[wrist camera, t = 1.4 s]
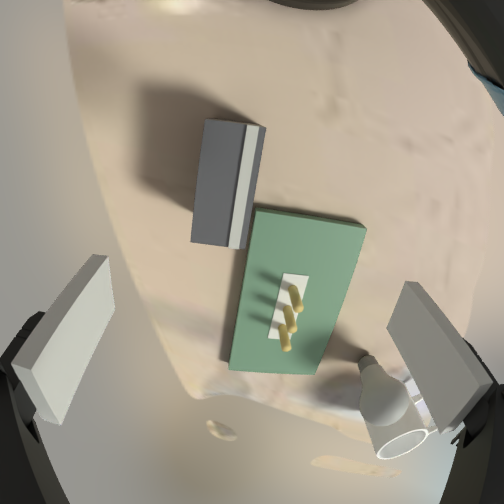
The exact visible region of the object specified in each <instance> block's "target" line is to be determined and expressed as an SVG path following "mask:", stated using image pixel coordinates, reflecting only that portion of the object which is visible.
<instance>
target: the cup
mask: <svg viewBox="0 0 504 504" xmlns="http://www.w3.org/2000/svg"><path fill="white" fill-rule="evenodd" d="M398 381H400V380H398ZM400 382H401V383H402V384H403V385H404V386H405V387H406V385H405V384H404V382H403V381H400ZM406 389H407V387H406ZM407 391H408V389H407ZM408 395H409V403H408V407H407V410H406V412H405V414H404V415H403V416H402V417H401V418H400V419H399V420H398V421H397V422H395V423H393V424H391V425H388V426H375V425H373V424H370V423H369V422H367V421H366V420H365V419H364V421H365V423H366V426H367V429H368V432H369V435H370V438H371V441H372V444H373V447H374V450H375V453H376V456H377V458H379V459H391V458H395V457H398V456H401V455H403V454H405V453H407V452H409V451H411V450H412V449H414V448H416V447H417V446H418V445H420V444H421V443H422V442H423V441H424V440H425V439H426V437H427V436H428V434H430V433H432V432H434V431H436V430H438V428H437V426H431V427H426V426H425V424H424V422H423V420H422V418H421V416H420V413H419V411H418V409H417V407H416V405H415V404H416V403H418V402H419V401H421V400H422V399H423V397H422V395H421V393H420V394H418V395H416V396H414V397H411V395H410V393H409V391H408Z"/></svg>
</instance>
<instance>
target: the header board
mask: <svg viewBox="0 0 504 504" xmlns="http://www.w3.org/2000/svg"><path fill="white" fill-rule="evenodd" d="M366 231H367V228H366V227H365V226H364V225H362V224H356V223H351V222H345V221H339V220H333V219H328V218H322V217H316V216H309V215H303V214H297V213H291V212H284V211H278V210H271V209H264V208H257V207H256V208H255V213H254V219H253V225H252V230H251V236H250V242H249V248H248V253H247V259H246V265H245V271H244V276H243V282H242V288H241V294H240V300H239V305H238V311H237V317H236V323H235V329H234V334H233V340H232V346H231V352H230V358H229V370H235V371H247V372H261V373H278V374H304V375H315V373H316V370H317V368H318V365H319V363H320V361H321V358H322V356H323V353H324V351H325V348H326V346H327V343H328V341H329V338H330V336H331V333H332V331H333V328H334V325H335V323H336V320H337V318H338V315H339V312H340V309H341V307H342V304H343V301H344V298H345V296H346V293H347V290H348V287H349V284H350V281H351V278H352V275H353V272H354V269H355V266H356V263H357V260H358V257H359V254H360V251H361V247H362V244H363V241H364V238H365V234H366Z"/></svg>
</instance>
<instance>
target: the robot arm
mask: <svg viewBox="0 0 504 504" xmlns="http://www.w3.org/2000/svg"><path fill="white" fill-rule="evenodd" d="M270 1H272V2H275V3H278V4H281V5H284V6H288V7H293V8H298V9H306V10H329V9H335V8H340V7H344V6H347V5H349V4H352V3H354V2H356V1H357V0H270ZM422 1H423V2H424V3H425V4H426V5H427V6H428V7H429V9H430V10H431V11H432V12H433V13H434V15H435V16H436V17H437V18H438V20H439V21H440V22H441V23H442V25H443V26H444V27H445V28H446V30H447V31H448V32H449V34H450V35H451V37H452V38H453V39H454V41H455V42H456V43H457V45H458V46H459V48H460V49H461V51H462V52H463V54H464V55H465V57H466V58H467V61H468V66H469V68H470V69H471V71H472V73H473V74H474V75H475V76H476V77H477V78H478V79H479V80H480V81H481V82H482V83H483V85H484V86H485V88H486V89H487V91H488V93H489V94H490V96H491V97H492V99H493V101H494V102H495V104H496V106H497V108H498V109H499V111H500V112H501V113H502V115H503V116H504V0H422ZM114 310H115V304H114V298H113V291H112V283H111V275H110V266H109V256H104V255H95V254H93V255H92V256H91V257H90V258H89V259H88V260H87V262H86V263H85V264H84V265H83V266H82V268H81V269H80V270H79V271H78V272H77V274H76V275H75V276H74V277H73V278H72V280H71V281H70V282H69V283H68V285H67V286H66V287H65V289H64V290H63V291H62V292H61V294H60V295H59V296H58V297H57V299H56V300H55V302H54V303H53V304H52V305H51V307H50V308H49V309H48V311H47V312H46V313H45V312H40V311H39V312H37V313H36V314H34V315H33V316H31V317H30V318H29V319H28V320H27V321H26V323H25V324H24V325H23V327H22V330H20V331H19V332H18V333H17V335H16V337H14V339H13V340H12V342H11V343H10V345H9V346H8V347H7V349H6V350H5V352H4V353H3V355H2V356H1V357H0V504H70V503H69V501H68V499H67V497H66V495H65V493H64V491H63V489H62V487H61V485H60V483H59V481H58V478H57V476H56V474H55V472H54V470H53V467H52V465H51V462H50V460H49V457H48V455H47V452H46V450H45V447H44V445H43V442H42V439H41V437H40V434H39V431H38V428H37V425H36V422H35V421H34V419H33V416H34V414H35V412H36V410H37V411H38V413H39V415H40V416H41V418H42V419H43V420H46V421H48V422H51V423H55V424H57V425H60V426H61V425H62V423H63V420H64V417H65V415H66V413H67V410H68V408H69V405H70V403H71V401H72V398H73V396H74V394H75V392H76V389H77V387H78V385H79V382H80V380H81V378H82V376H83V374H84V371H85V369H86V367H87V365H88V363H89V361H90V359H91V356H92V354H93V352H94V350H95V348H96V346H97V344H98V342H99V340H100V338H101V336H102V334H103V332H104V330H105V328H106V326H107V324H108V322H109V320H110V318H111V316H112V314H113V312H114ZM387 330H388V332H389V334H390V335H391V337H392V339H393V341H394V343H395V344H396V346H397V348H398V350H399V352H400V354H401V356H402V358H403V359H404V361H405V363H406V365H407V367H408V369H409V371H410V373H411V375H412V377H413V379H414V381H415V383H416V385H417V387H418V389H419V391H420V393H421V395H422V397H423V399H424V401H425V403H426V405H427V407H428V409H429V411H430V413H431V416H432V418H433V420H434V422H435V424H436V426H437V428H438V430H439V433H440V434H443V433H447V432H450V431H454V430H455V429H456V428H457V427H458V426H459V424H460V423H461V422H462V421H463V422H464V424H465V427H464V428H463V429H462V430H461V431H460V433H459V434H458V435H457V436H456V437H455V438H454V439H453V440H452V442H451V444H454V443H455V442H456V440H457V439H459V442H458V443H457V445H456V446H457V450H456V454H455V457H454V461H453V465H452V468H451V472H450V474H449V478H448V481H447V484H446V487H445V490H444V492H443V495H442V498H441V501H440V503H439V504H504V384H500V385H499V384H498V383H497V381H496V379H495V378H494V376H493V375H492V374H491V372H490V371H489V369H488V368H487V366H486V365H485V363H484V362H482V359H481V358H480V357H479V355H477V352H476V351H475V350H474V348H473V347H472V345H471V344H470V343H468V342H467V341H466V340H465V339H464V338H462V337H461V336H460V334H459V333H458V332H457V330H456V329H455V328H454V326H453V325H452V324H451V322H450V321H449V320H448V318H447V317H446V316H445V315H444V313H443V312H442V311H441V310H440V308H439V307H438V306H437V304H436V303H435V302H434V301H433V300H432V298H431V297H430V296H429V295H428V293H427V292H426V291H425V290H424V289H423V287H422V286H421V285H420V284H419V283H418V282H410V281H405V283H404V286H403V289H402V291H401V294H400V296H399V299H398V301H397V304H396V306H395V309H394V311H393V314H392V316H391V319H390V321H389V323H388V326H387Z"/></svg>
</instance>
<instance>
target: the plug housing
mask: <svg viewBox="0 0 504 504" xmlns="http://www.w3.org/2000/svg"><path fill="white" fill-rule="evenodd" d="M265 132H266V127H263V126H261V125H257V124H251V123H244V122H237V121H230V120H223V119H214V118H210V119H205V124H204V131H203V138H202V145H201V152H200V160H199V168H198V176H197V184H196V192H195V201H194V211H193V220H192V231H191V241H190V242H192V243H200V244H208V245H216V246H224V247H228V248H231V249H238V250H239V249H245V248H246V242H247V236H248V230H249V224H250V218H251V212H252V207H253V201H254V195H255V189H256V183H257V178H258V172H259V166H260V161H261V155H262V149H263V143H264V138H265Z"/></svg>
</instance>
